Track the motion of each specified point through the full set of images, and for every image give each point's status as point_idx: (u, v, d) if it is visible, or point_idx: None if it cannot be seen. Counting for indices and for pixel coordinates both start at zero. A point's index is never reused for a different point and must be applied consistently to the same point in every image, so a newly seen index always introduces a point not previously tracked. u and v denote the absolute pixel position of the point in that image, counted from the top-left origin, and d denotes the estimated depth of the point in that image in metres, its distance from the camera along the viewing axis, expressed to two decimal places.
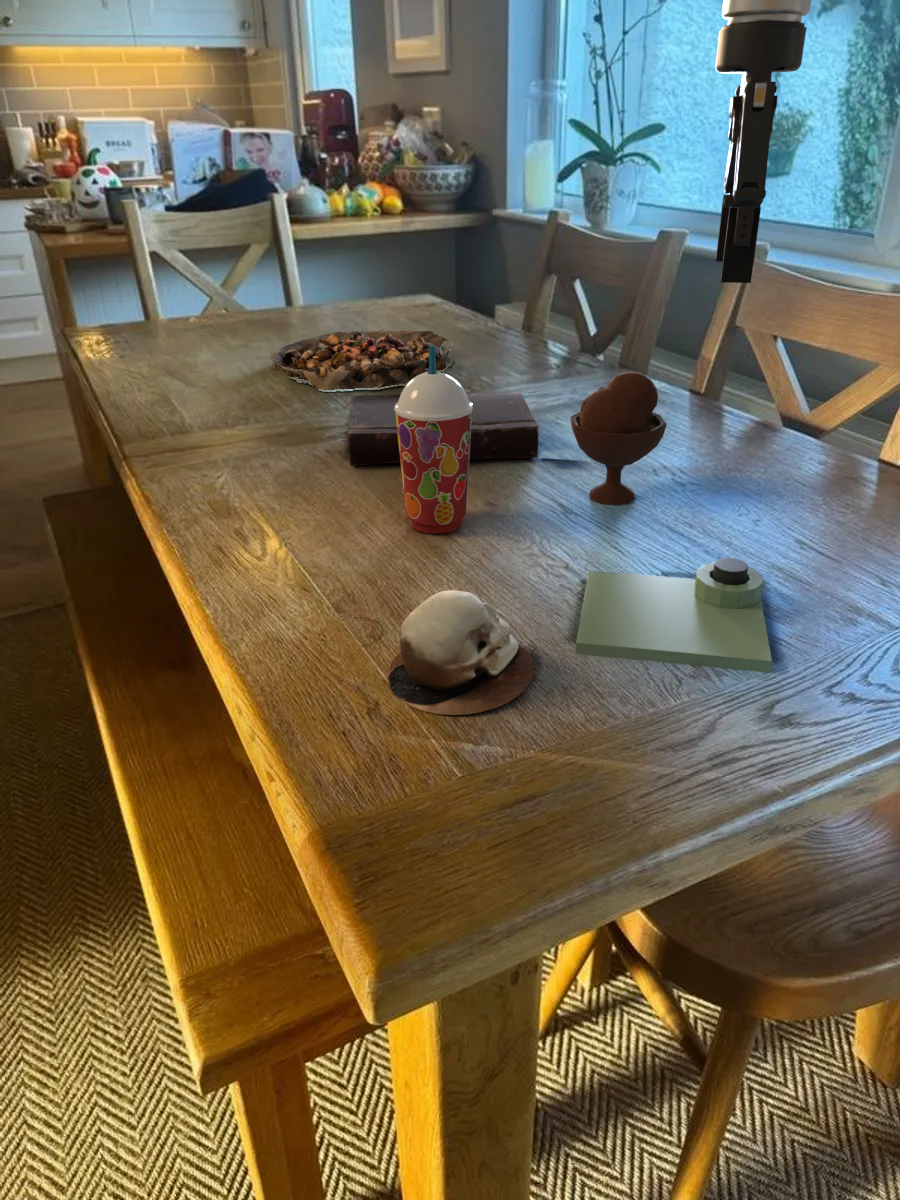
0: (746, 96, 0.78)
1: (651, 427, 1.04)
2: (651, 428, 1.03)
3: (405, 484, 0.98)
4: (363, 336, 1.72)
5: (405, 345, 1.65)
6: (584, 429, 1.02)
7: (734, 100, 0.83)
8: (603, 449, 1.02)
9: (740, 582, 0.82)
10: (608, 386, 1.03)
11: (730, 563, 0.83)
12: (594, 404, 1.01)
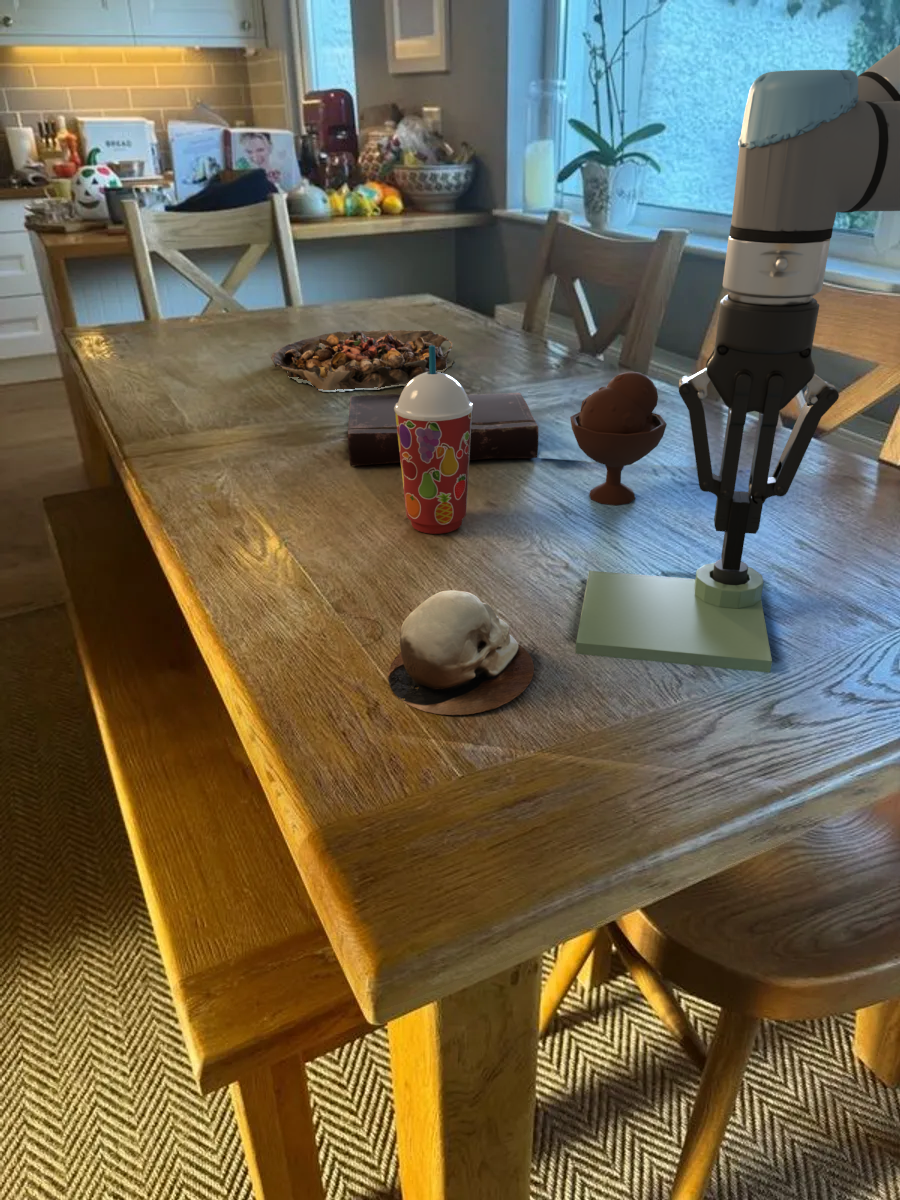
0: None
1: (651, 427, 1.04)
2: (651, 428, 1.03)
3: (405, 484, 0.98)
4: (363, 336, 1.72)
5: (405, 345, 1.65)
6: (584, 429, 1.02)
7: (783, 384, 0.73)
8: (603, 449, 1.02)
9: (740, 583, 0.82)
10: (608, 386, 1.03)
11: None
12: (594, 404, 1.01)
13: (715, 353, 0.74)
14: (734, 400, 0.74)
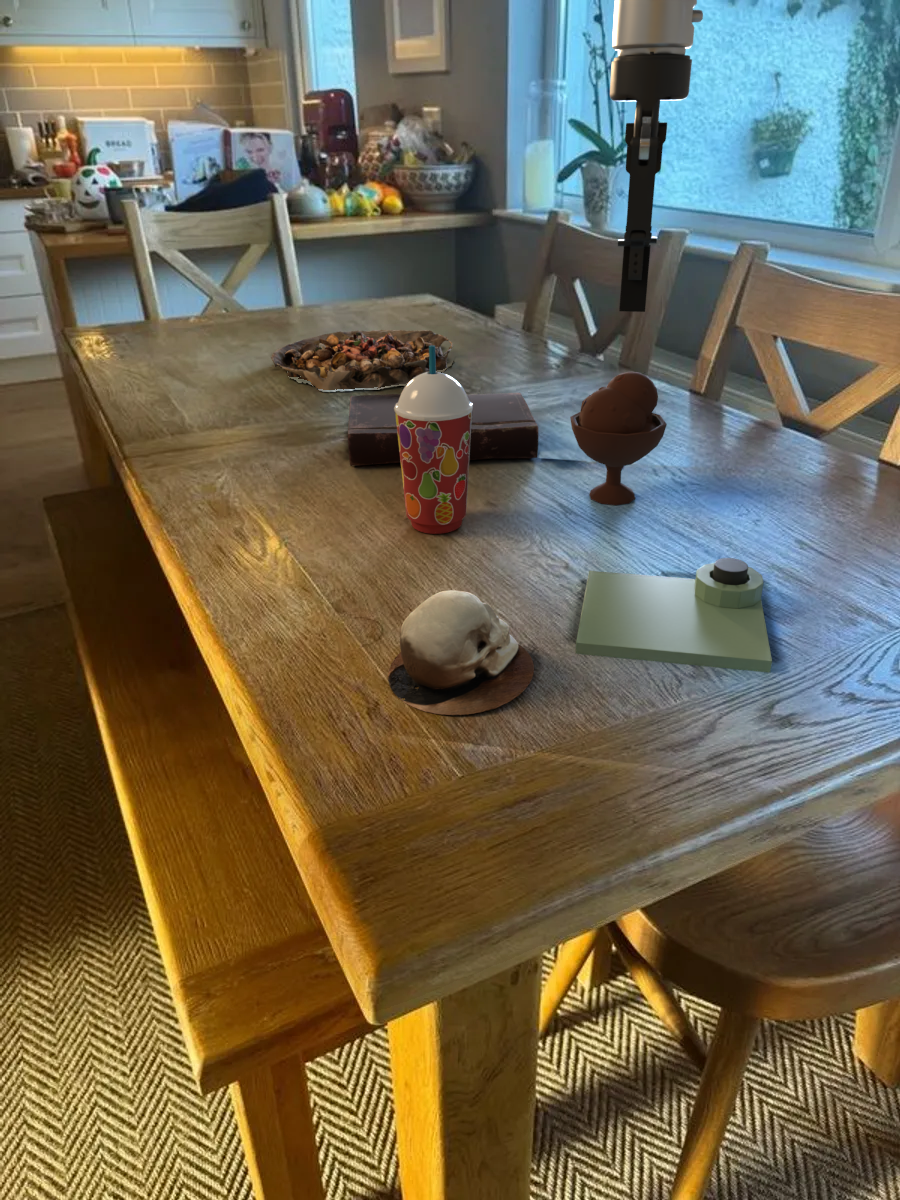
0: None
1: (651, 427, 1.04)
2: (651, 428, 1.03)
3: (405, 484, 0.98)
4: (363, 336, 1.72)
5: (405, 345, 1.65)
6: (584, 429, 1.02)
7: None
8: (603, 449, 1.02)
9: (740, 582, 0.82)
10: (608, 386, 1.03)
11: (730, 563, 0.83)
12: (594, 404, 1.01)
13: (656, 107, 0.84)
14: None
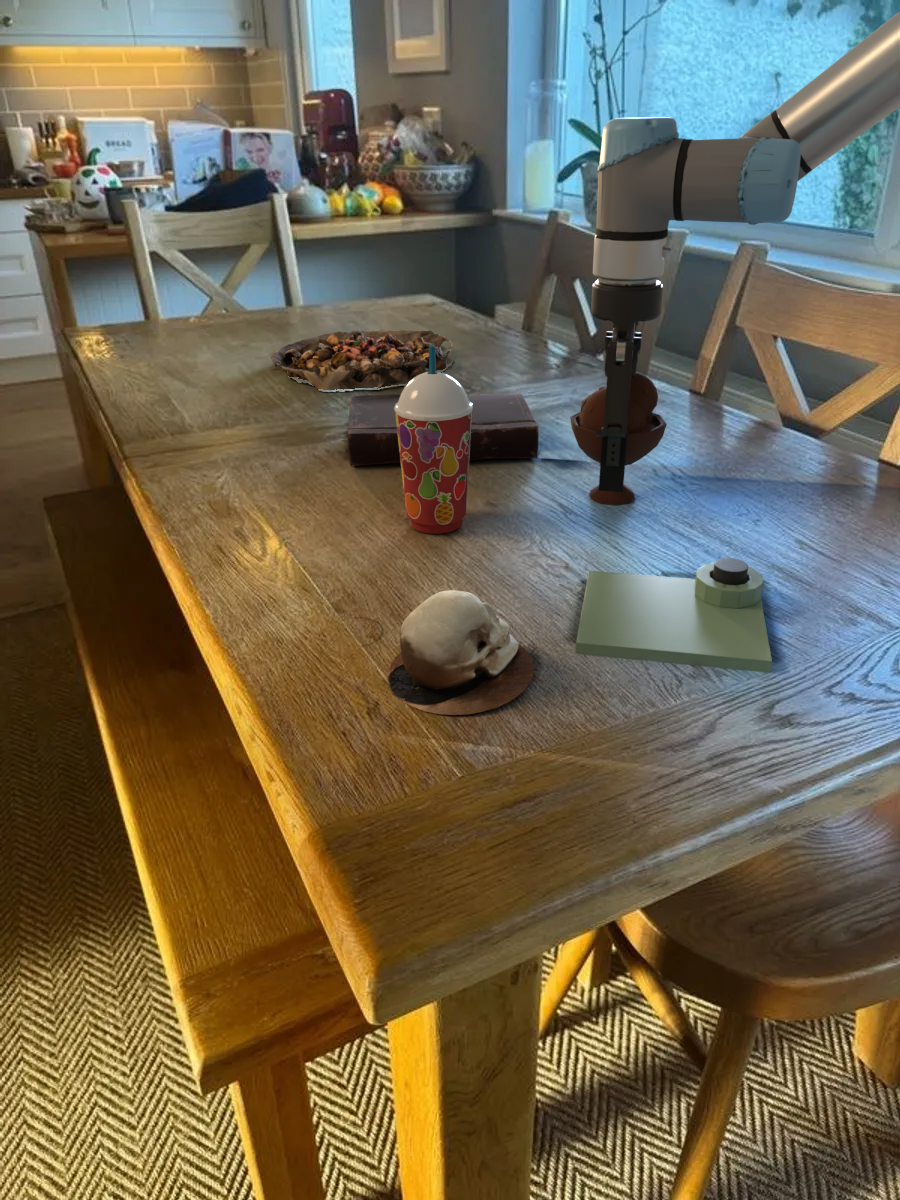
0: (635, 327, 1.06)
1: (651, 427, 1.04)
2: (651, 428, 1.03)
3: (405, 484, 0.98)
4: (363, 336, 1.72)
5: (405, 345, 1.65)
6: (584, 429, 1.02)
7: None
8: None
9: (740, 582, 0.82)
10: None
11: (730, 563, 0.83)
12: (594, 403, 1.01)
13: (630, 329, 0.96)
14: (637, 356, 0.98)
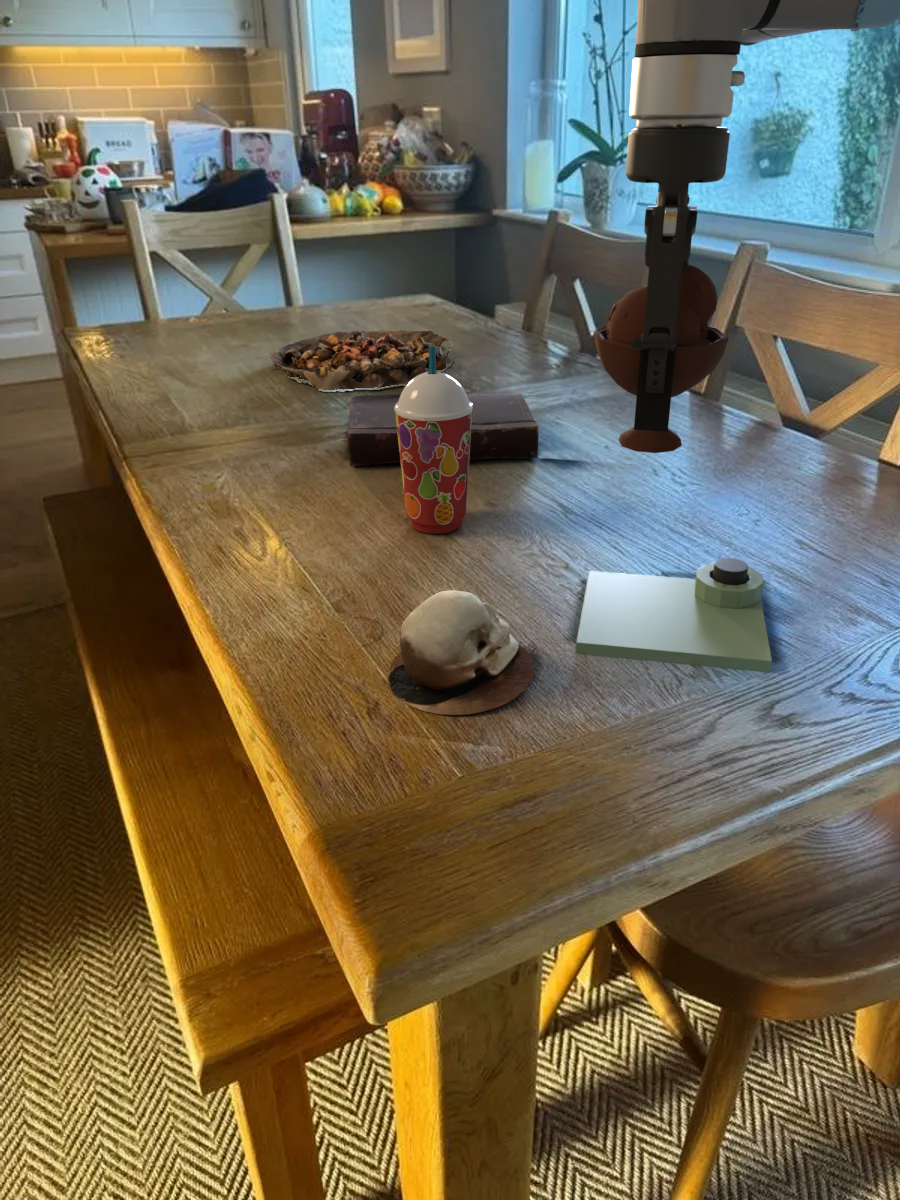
0: None
1: (707, 343, 0.74)
2: (707, 344, 0.74)
3: (405, 484, 0.98)
4: (363, 336, 1.72)
5: (405, 345, 1.65)
6: (614, 343, 0.73)
7: None
8: None
9: (740, 582, 0.82)
10: None
11: (730, 563, 0.83)
12: (627, 307, 0.72)
13: (683, 193, 0.67)
14: (691, 235, 0.69)
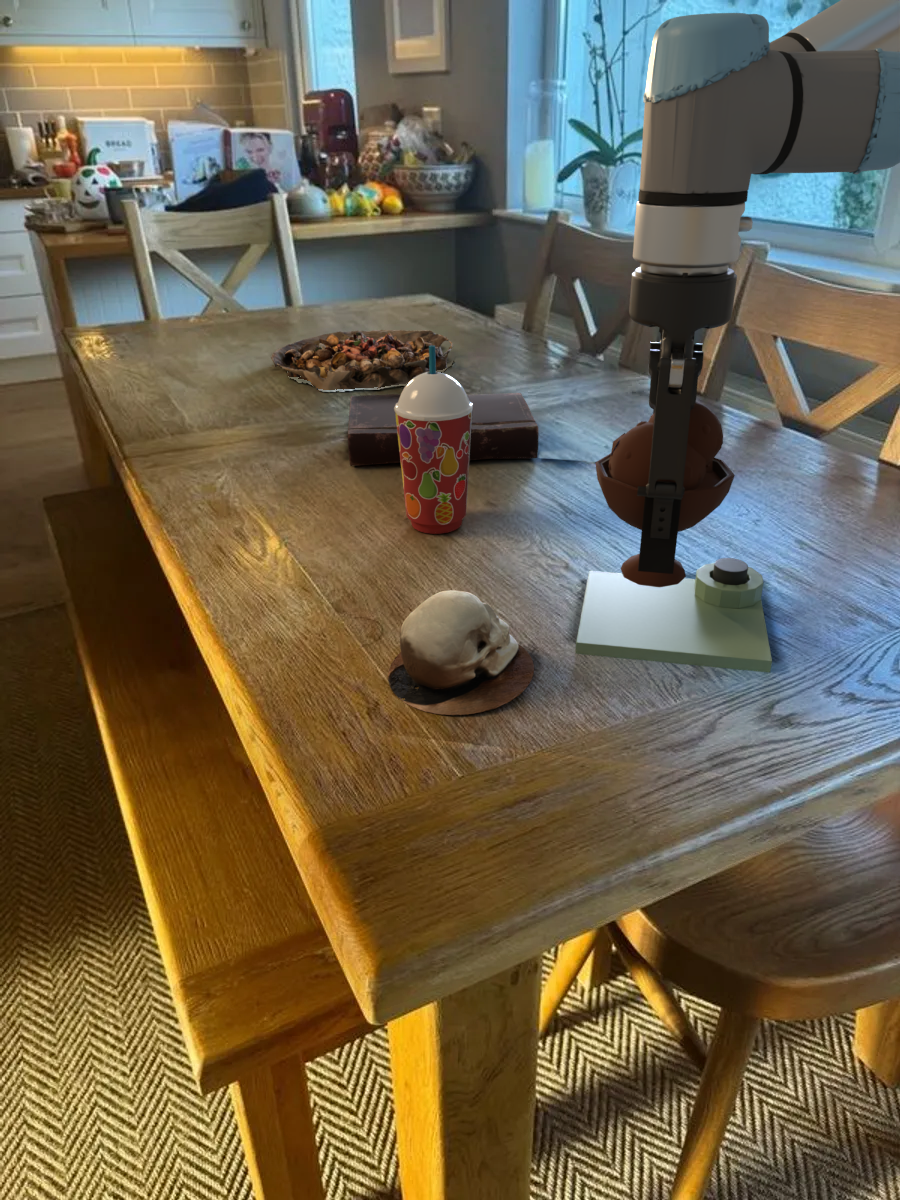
0: None
1: (712, 479, 0.72)
2: (712, 481, 0.72)
3: (405, 484, 0.98)
4: (363, 336, 1.72)
5: (405, 345, 1.65)
6: (617, 483, 0.71)
7: None
8: None
9: (740, 582, 0.82)
10: (651, 420, 0.72)
11: (730, 563, 0.83)
12: (631, 447, 0.70)
13: (689, 340, 0.65)
14: (697, 378, 0.67)
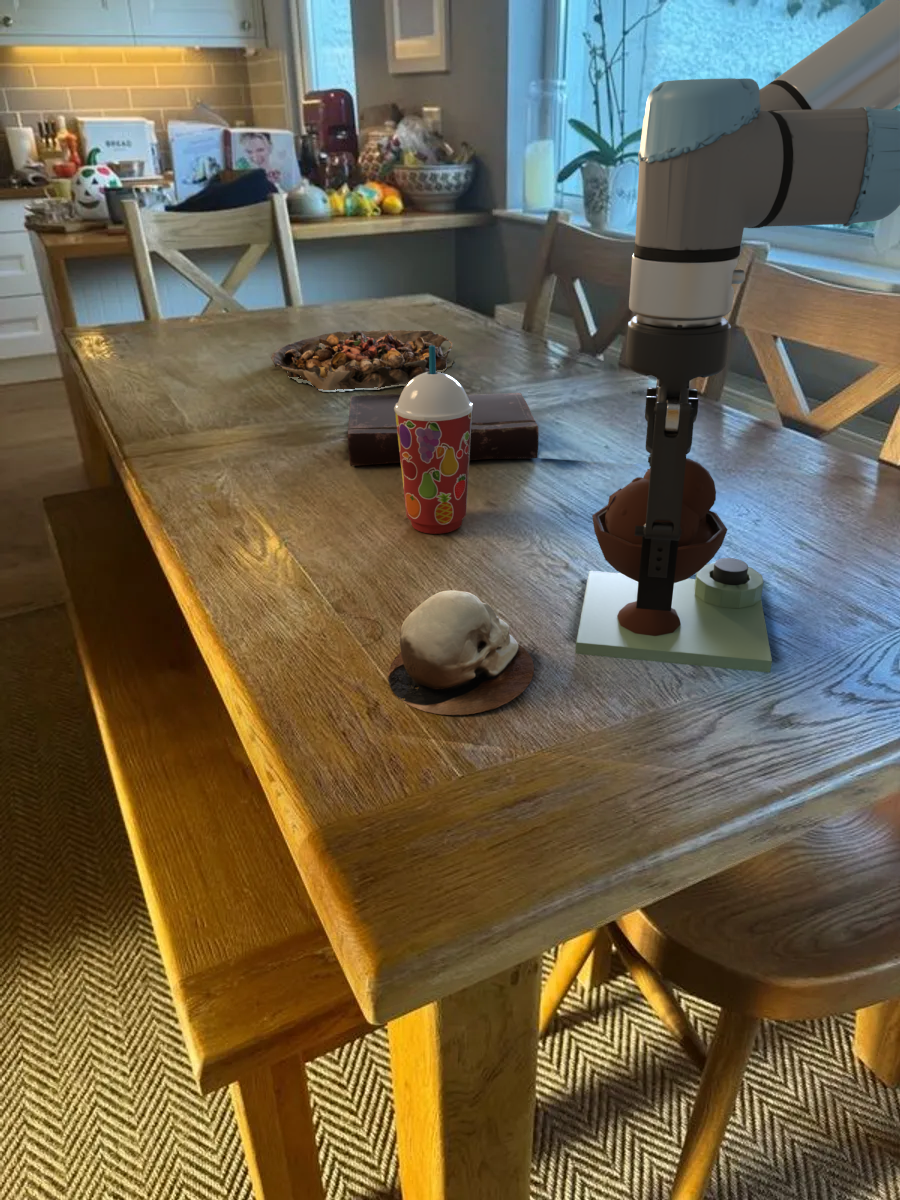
0: None
1: (705, 533, 0.75)
2: (706, 535, 0.74)
3: (405, 484, 0.98)
4: (363, 336, 1.72)
5: (405, 345, 1.65)
6: (613, 538, 0.73)
7: None
8: None
9: (740, 582, 0.82)
10: (646, 477, 0.74)
11: (730, 563, 0.83)
12: (627, 504, 0.72)
13: (684, 389, 0.66)
14: None
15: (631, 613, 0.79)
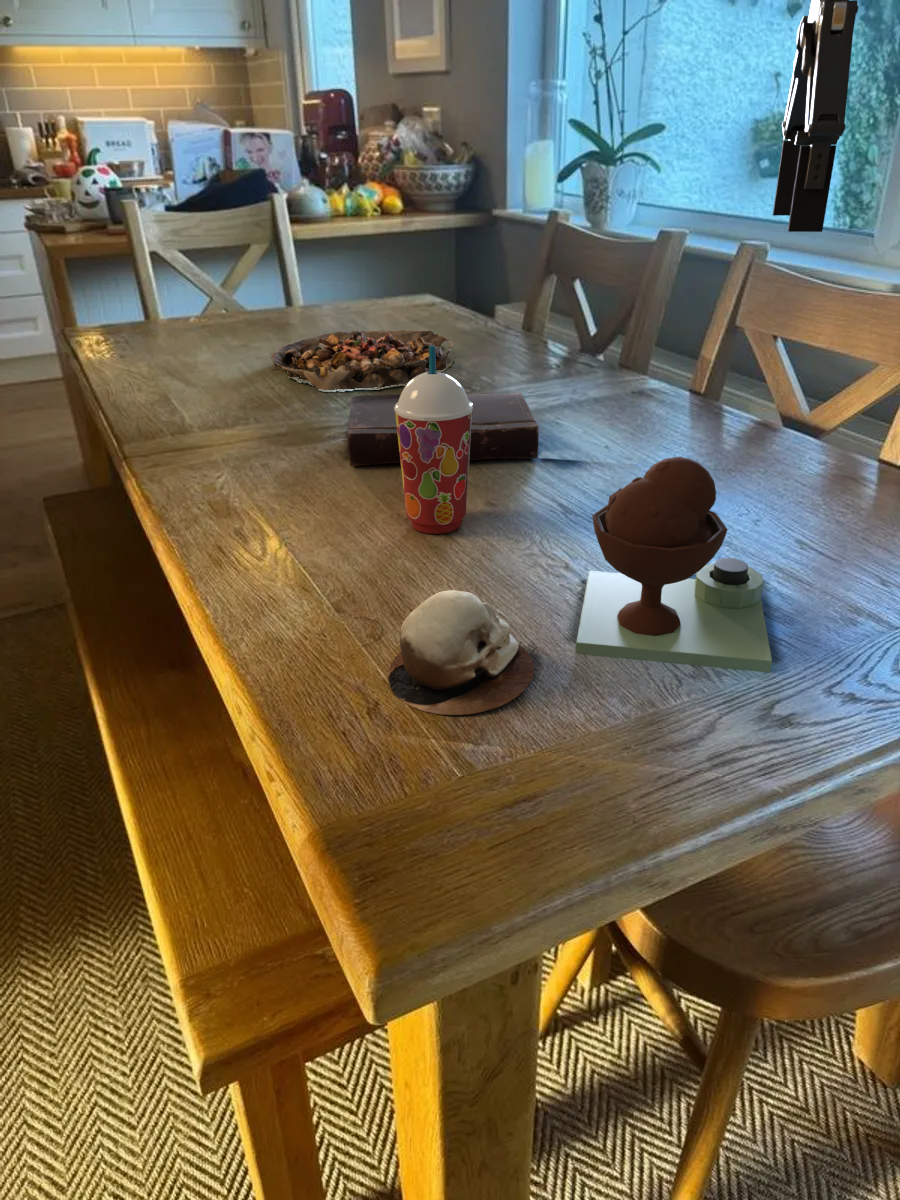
0: None
1: (705, 533, 0.75)
2: (706, 535, 0.74)
3: (405, 484, 0.98)
4: (363, 336, 1.72)
5: (405, 345, 1.65)
6: (613, 538, 0.73)
7: None
8: (640, 567, 0.73)
9: (740, 582, 0.82)
10: (646, 477, 0.74)
11: (730, 563, 0.83)
12: (627, 503, 0.72)
13: None
14: None
15: (631, 613, 0.79)
